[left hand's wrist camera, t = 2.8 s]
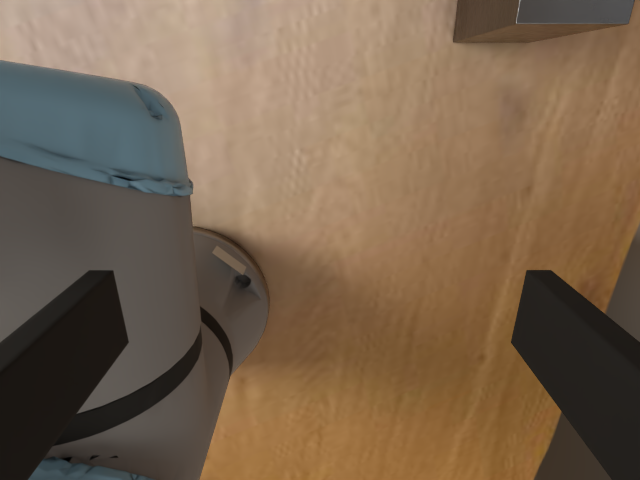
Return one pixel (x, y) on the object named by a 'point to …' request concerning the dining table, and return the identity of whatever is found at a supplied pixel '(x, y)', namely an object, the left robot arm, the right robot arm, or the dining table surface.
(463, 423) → the dining table surface
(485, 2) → the box
